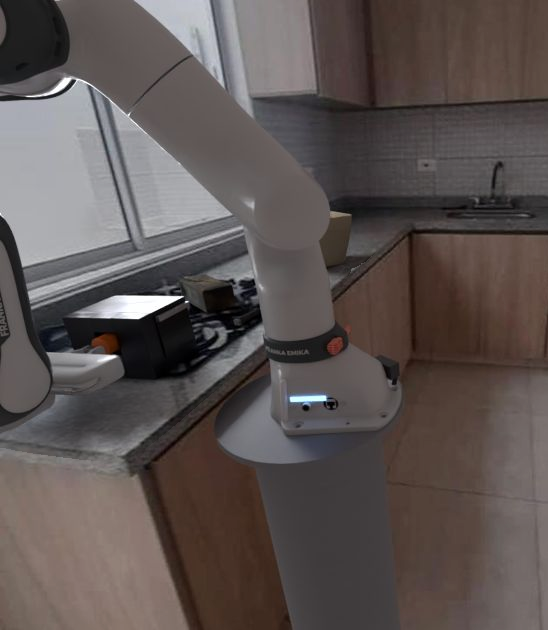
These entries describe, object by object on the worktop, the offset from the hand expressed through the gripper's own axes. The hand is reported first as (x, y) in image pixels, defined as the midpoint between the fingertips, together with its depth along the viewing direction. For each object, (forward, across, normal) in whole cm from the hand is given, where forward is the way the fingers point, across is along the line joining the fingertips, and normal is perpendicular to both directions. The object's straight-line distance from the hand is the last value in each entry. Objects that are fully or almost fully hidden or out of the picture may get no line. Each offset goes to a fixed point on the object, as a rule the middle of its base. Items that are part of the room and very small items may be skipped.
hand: (97, 349), depth 77 cm
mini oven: (+8, 0, +7) cm, 11 cm away
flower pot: (+83, -7, +7) cm, 84 cm away
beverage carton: (+42, +9, +7) cm, 44 cm away
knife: (+37, -10, +7) cm, 39 cm away
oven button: (+2, 0, +2) cm, 3 cm away
